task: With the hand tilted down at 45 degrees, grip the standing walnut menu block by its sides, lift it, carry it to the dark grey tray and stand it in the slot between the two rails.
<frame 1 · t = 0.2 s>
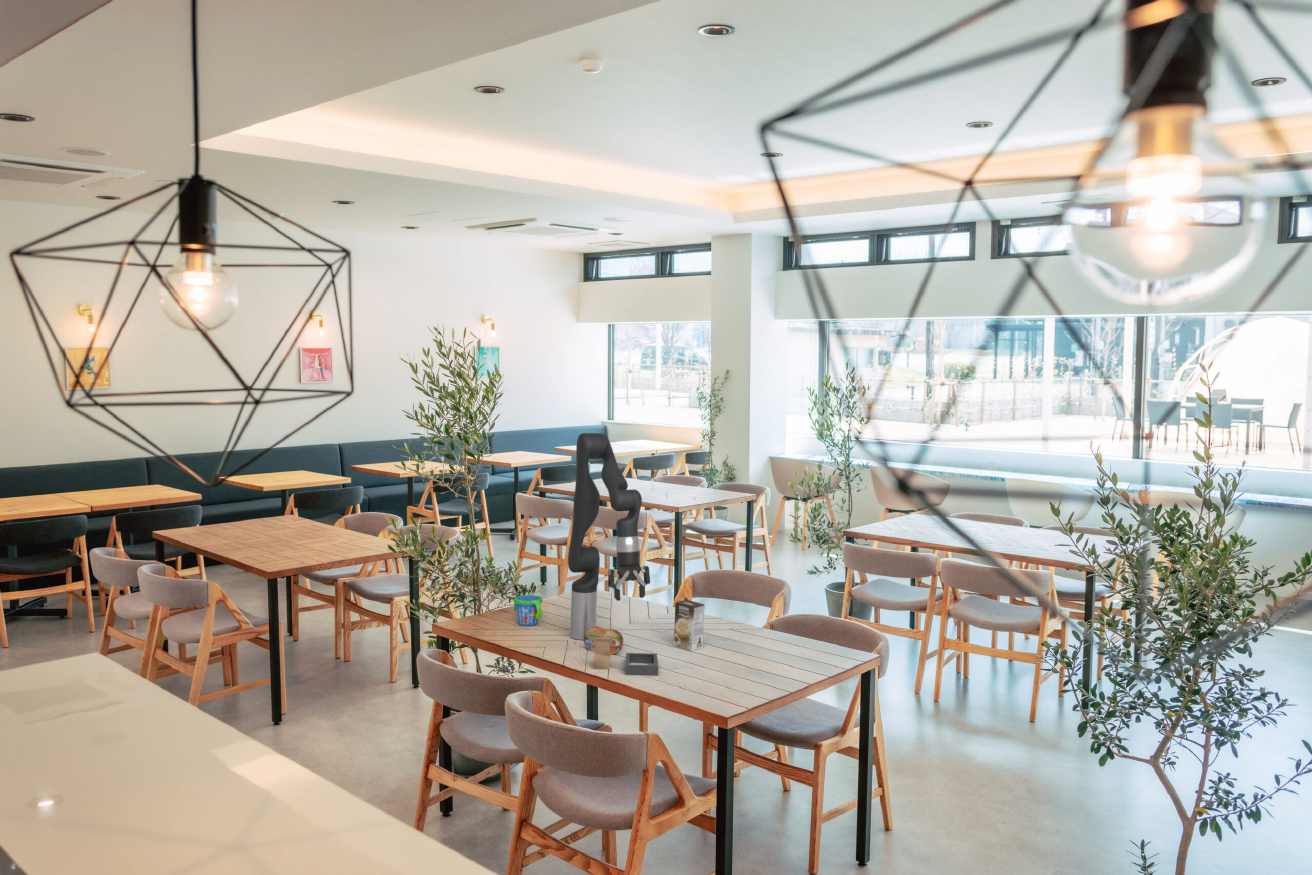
hand: (629, 598, 305), 22 cm above the table, tool pointing down, fingers open, 8 cm apart
menu block: (601, 667, 302), on the table
dark grey tray: (641, 668, 302), on the table
snack cup: (527, 624, 353), on the table
coffee box: (688, 647, 328), on the table
tin: (603, 652, 320), on the table
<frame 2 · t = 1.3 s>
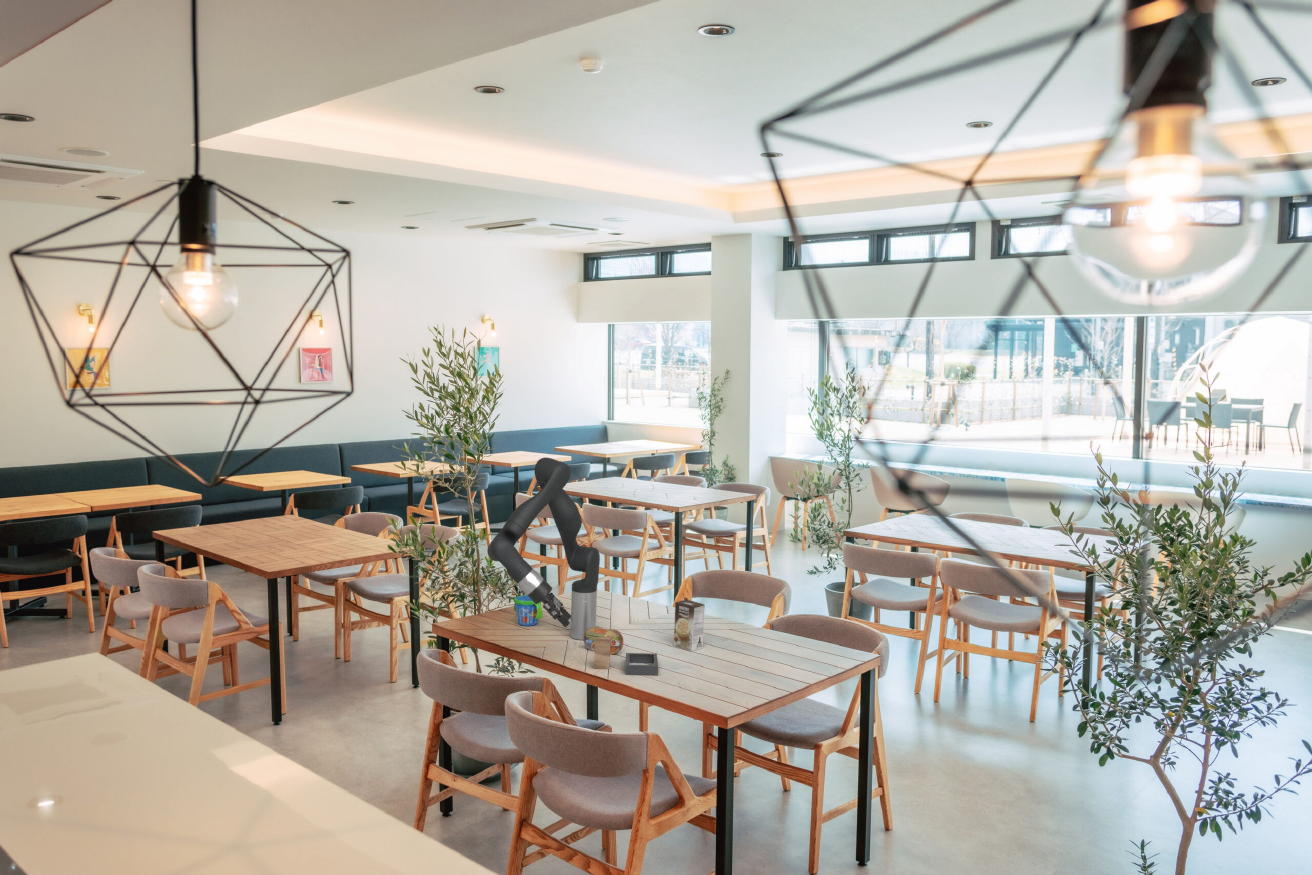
hand: (568, 621, 300), 15 cm above the table, tool tilted 45°, fingers open, 8 cm apart
nothing on the table moved.
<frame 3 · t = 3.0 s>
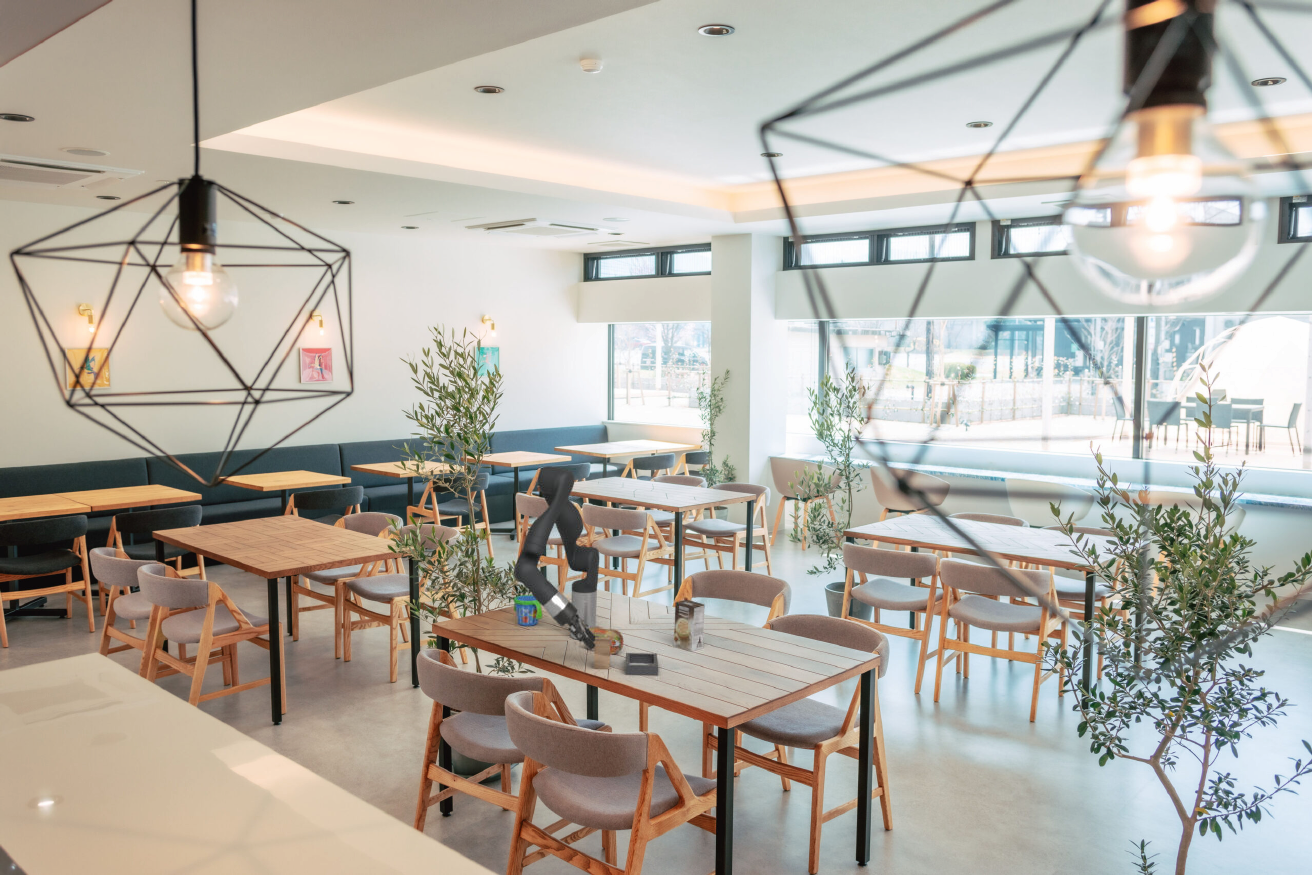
hand: (594, 643, 301), 8 cm above the table, tool tilted 45°, fingers open, 8 cm apart
nothing on the table moved.
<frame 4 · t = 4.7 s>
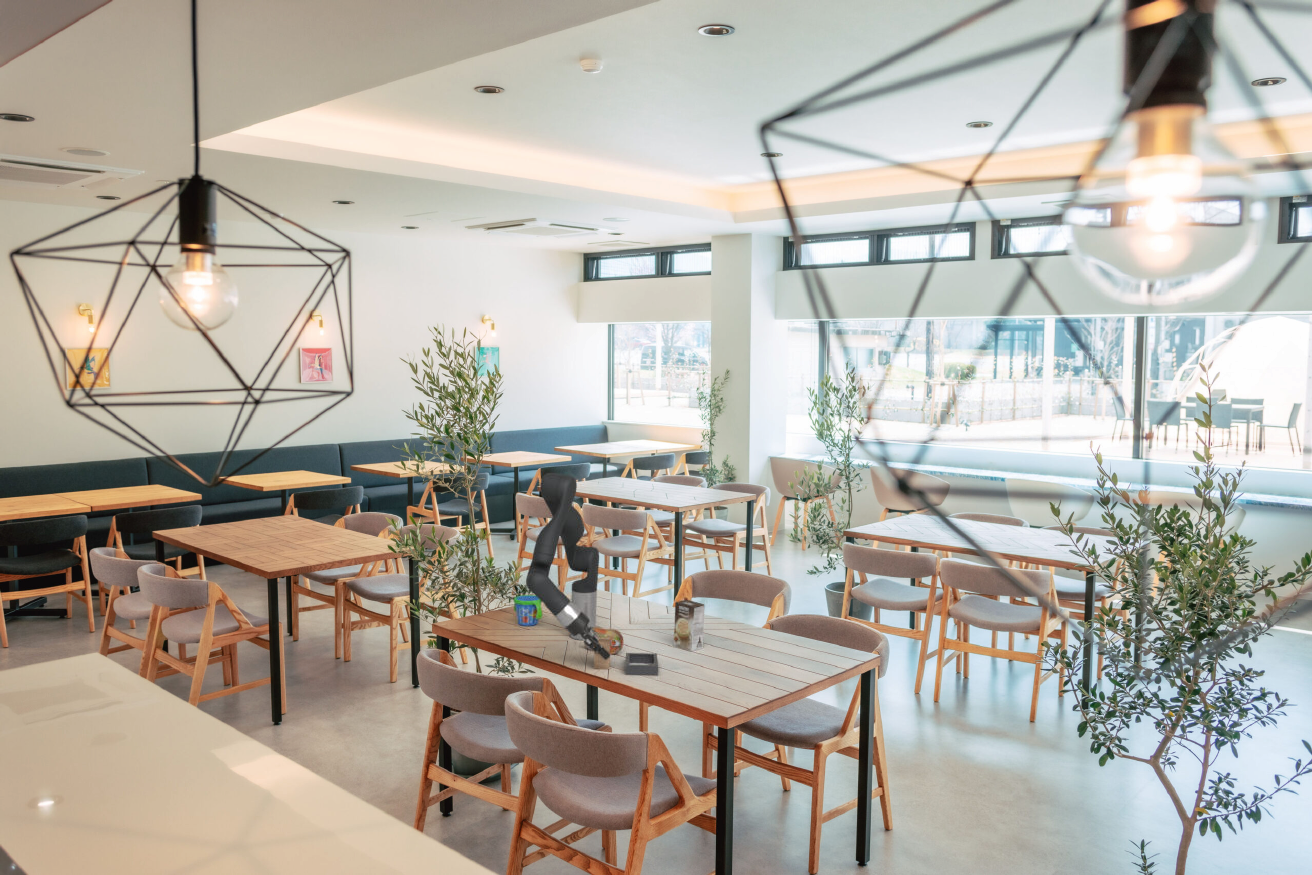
hand: (608, 655, 301), 4 cm above the table, tool tilted 45°, fingers closed on menu block, 3 cm apart
menu block: (601, 667, 302), on the table, touching gripper
everything else where it was.
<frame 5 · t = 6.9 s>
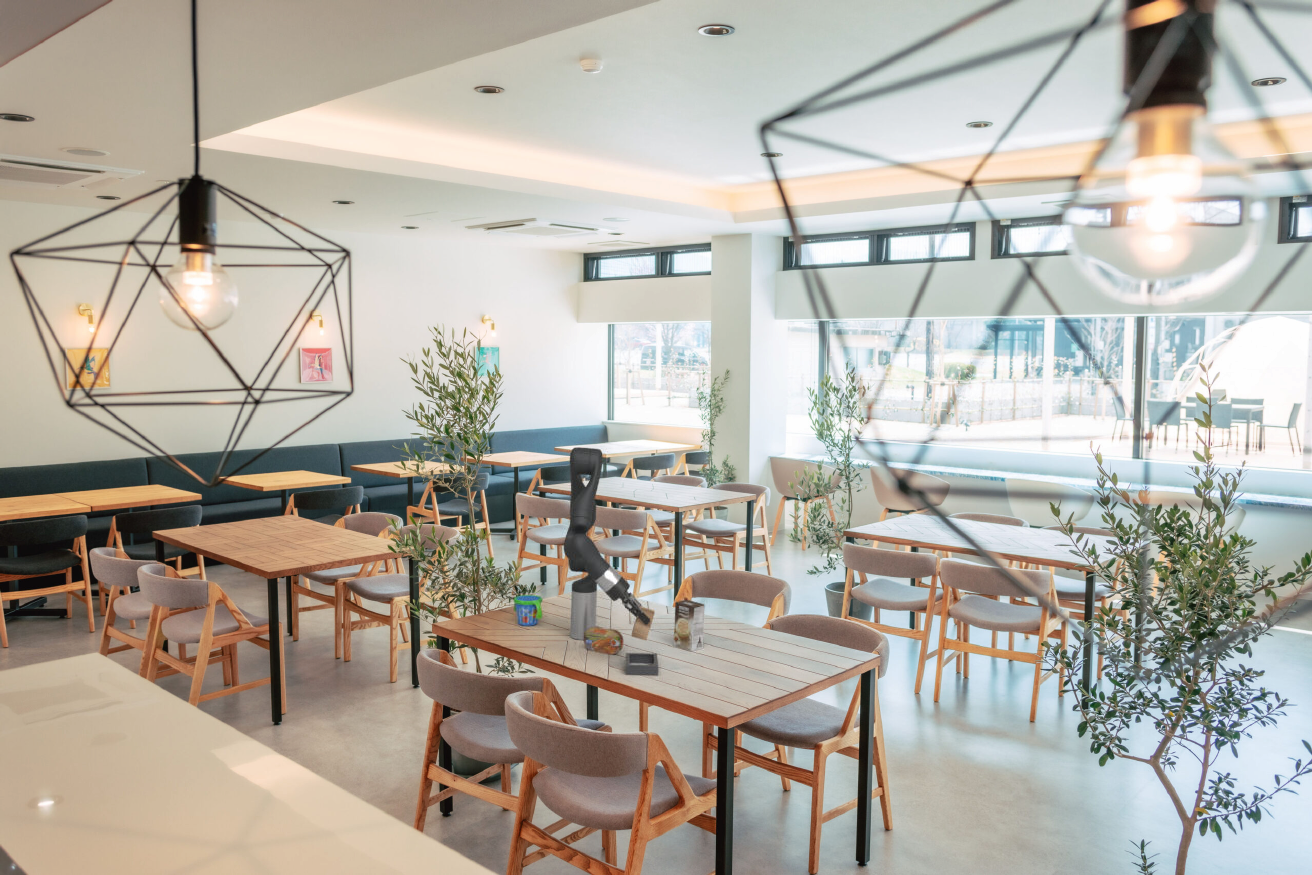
hand: (648, 620, 301), 16 cm above the table, tool tilted 45°, fingers closed on menu block, 3 cm apart
menu block: (639, 637, 301), point 10 cm above the table, tilted 14°, touching gripper
everything else where it was.
when the fingers open (7 cm above the table, at t = 9.0 s): menu block stays where it is, resting in dark grey tray.
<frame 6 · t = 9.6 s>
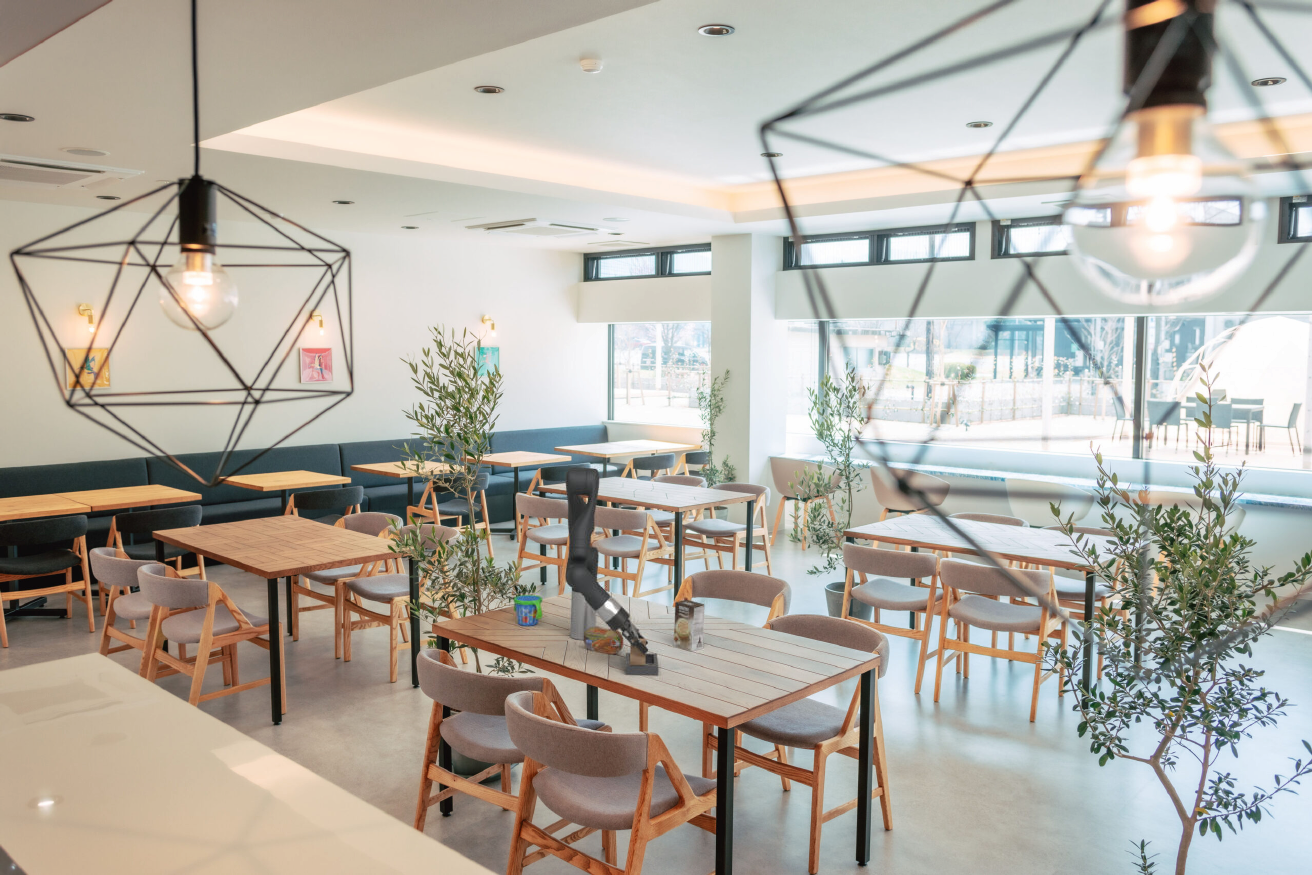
hand: (646, 648, 302), 7 cm above the table, tool tilted 45°, fingers open, 8 cm apart
menu block: (637, 668, 302), resting in dark grey tray
everything else where it was.
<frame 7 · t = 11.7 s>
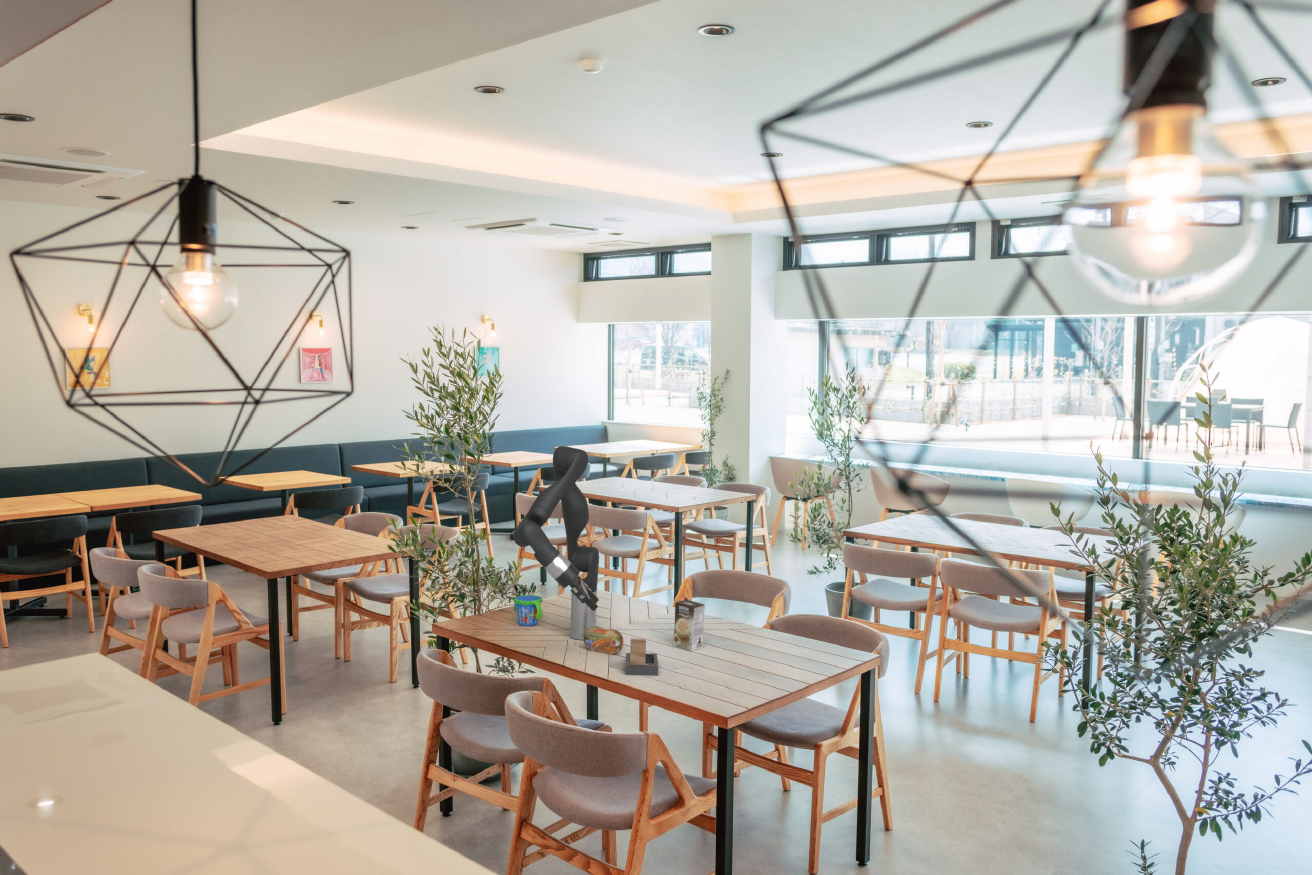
hand: (596, 605, 300), 21 cm above the table, tool tilted 45°, fingers open, 8 cm apart
nothing on the table moved.
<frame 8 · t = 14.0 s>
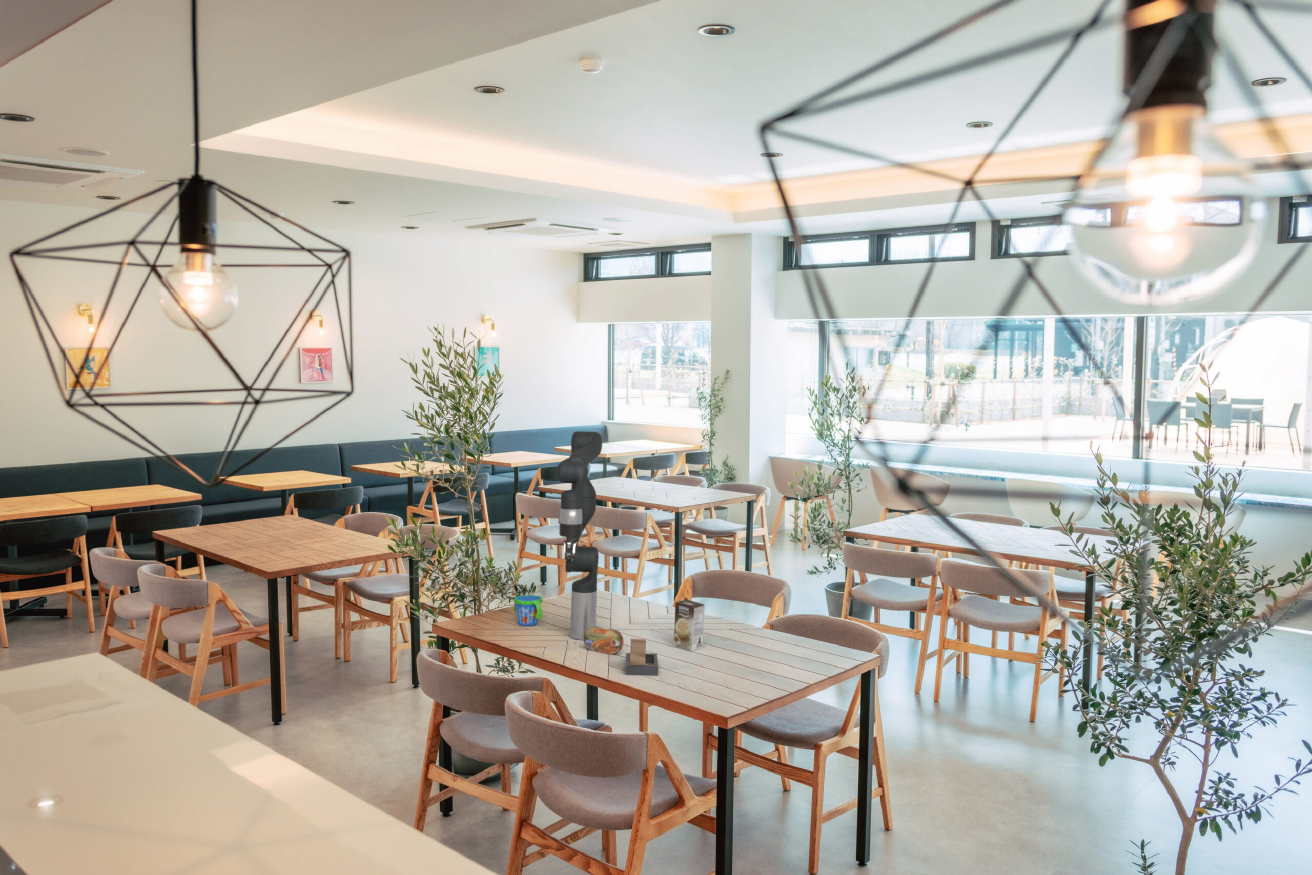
hand: (569, 569, 309), 30 cm above the table, tool pointing down, fingers open, 8 cm apart
nothing on the table moved.
at the end: menu block inside the target area (1.3 cm from its centre), resting in dark grey tray; menu block tilted 0°; the gripper is holding nothing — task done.
